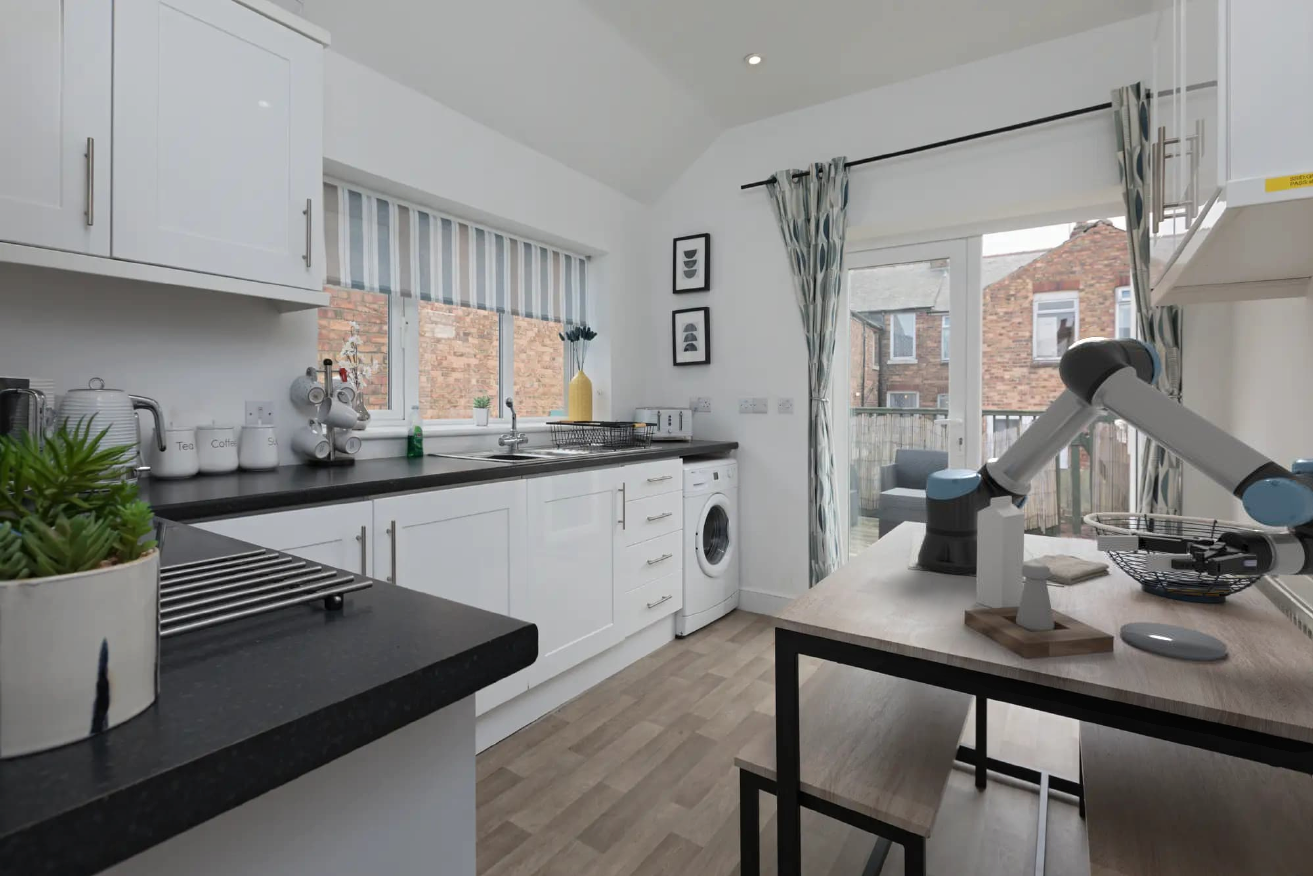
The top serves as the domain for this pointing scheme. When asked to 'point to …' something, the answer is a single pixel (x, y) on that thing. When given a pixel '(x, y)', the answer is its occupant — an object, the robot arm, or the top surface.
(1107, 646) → the socket block
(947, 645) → the top surface
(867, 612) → the top surface
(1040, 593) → the salt shaker
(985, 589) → the milk
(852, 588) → the top surface
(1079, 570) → the washcloth
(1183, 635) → the coaster
